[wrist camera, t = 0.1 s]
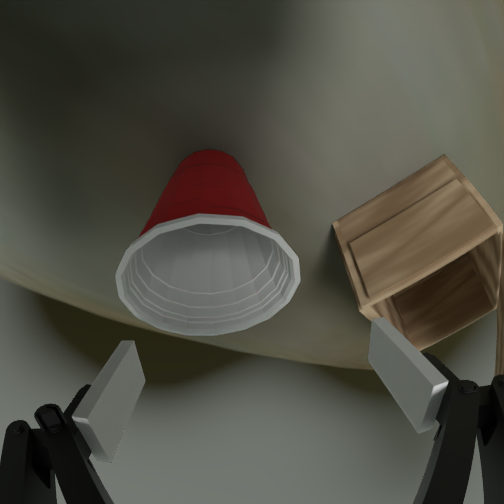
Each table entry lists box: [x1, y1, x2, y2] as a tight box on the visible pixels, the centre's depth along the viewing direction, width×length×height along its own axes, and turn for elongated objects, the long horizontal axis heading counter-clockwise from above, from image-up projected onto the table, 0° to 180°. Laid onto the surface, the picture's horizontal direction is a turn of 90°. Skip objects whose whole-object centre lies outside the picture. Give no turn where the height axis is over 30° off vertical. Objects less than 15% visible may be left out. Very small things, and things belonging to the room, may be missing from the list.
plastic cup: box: [115, 149, 300, 336], centre depth 21 cm, size 11×11×12 cm
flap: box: [494, 233, 504, 377], centre depth 21 cm, size 19×1×10 cm, turn 40°
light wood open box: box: [332, 154, 503, 351], centre depth 30 cm, size 21×14×10 cm
